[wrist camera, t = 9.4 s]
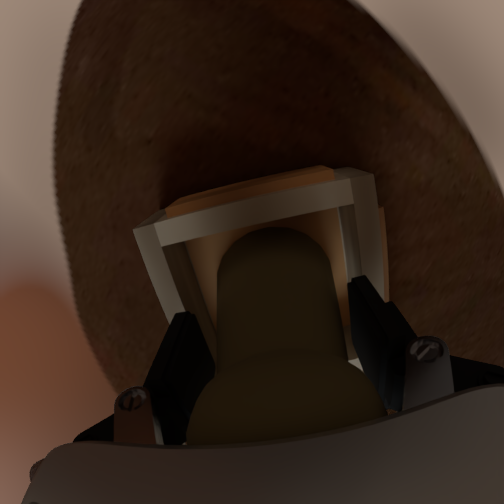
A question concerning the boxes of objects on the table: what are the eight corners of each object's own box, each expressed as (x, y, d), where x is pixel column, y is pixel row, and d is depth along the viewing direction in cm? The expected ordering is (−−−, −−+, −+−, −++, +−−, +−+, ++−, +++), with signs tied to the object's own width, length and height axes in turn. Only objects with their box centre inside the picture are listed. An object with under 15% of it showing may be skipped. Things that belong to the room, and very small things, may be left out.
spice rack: (353, 157, 13) (381, 162, 10) (364, 454, 23) (371, 480, 20) (157, 202, 14) (129, 220, 11) (267, 471, 24) (267, 499, 21)
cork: (192, 279, 15) (112, 472, 5) (280, 200, 14) (334, 370, 3) (270, 347, 17) (274, 530, 6) (354, 284, 15) (446, 463, 5)
